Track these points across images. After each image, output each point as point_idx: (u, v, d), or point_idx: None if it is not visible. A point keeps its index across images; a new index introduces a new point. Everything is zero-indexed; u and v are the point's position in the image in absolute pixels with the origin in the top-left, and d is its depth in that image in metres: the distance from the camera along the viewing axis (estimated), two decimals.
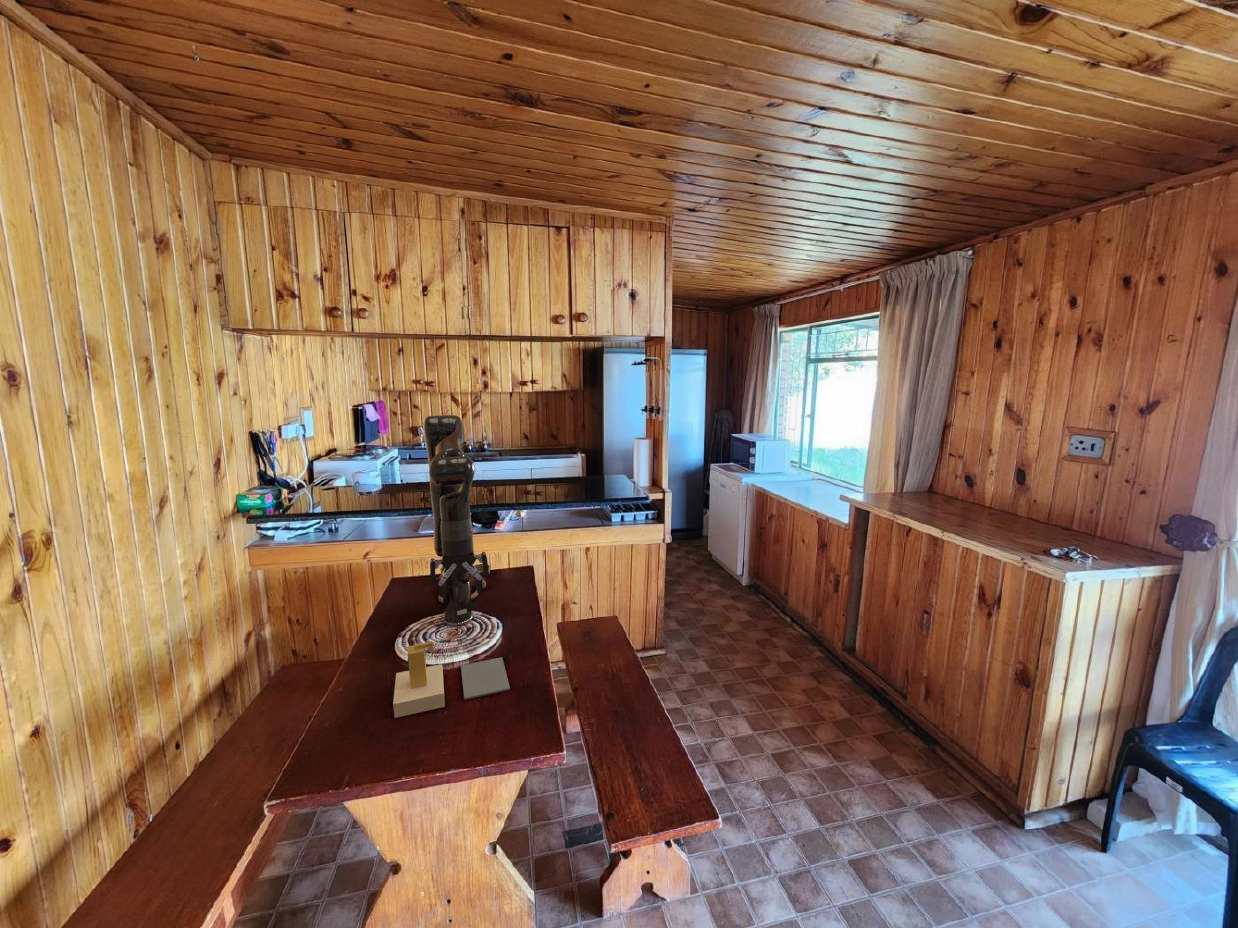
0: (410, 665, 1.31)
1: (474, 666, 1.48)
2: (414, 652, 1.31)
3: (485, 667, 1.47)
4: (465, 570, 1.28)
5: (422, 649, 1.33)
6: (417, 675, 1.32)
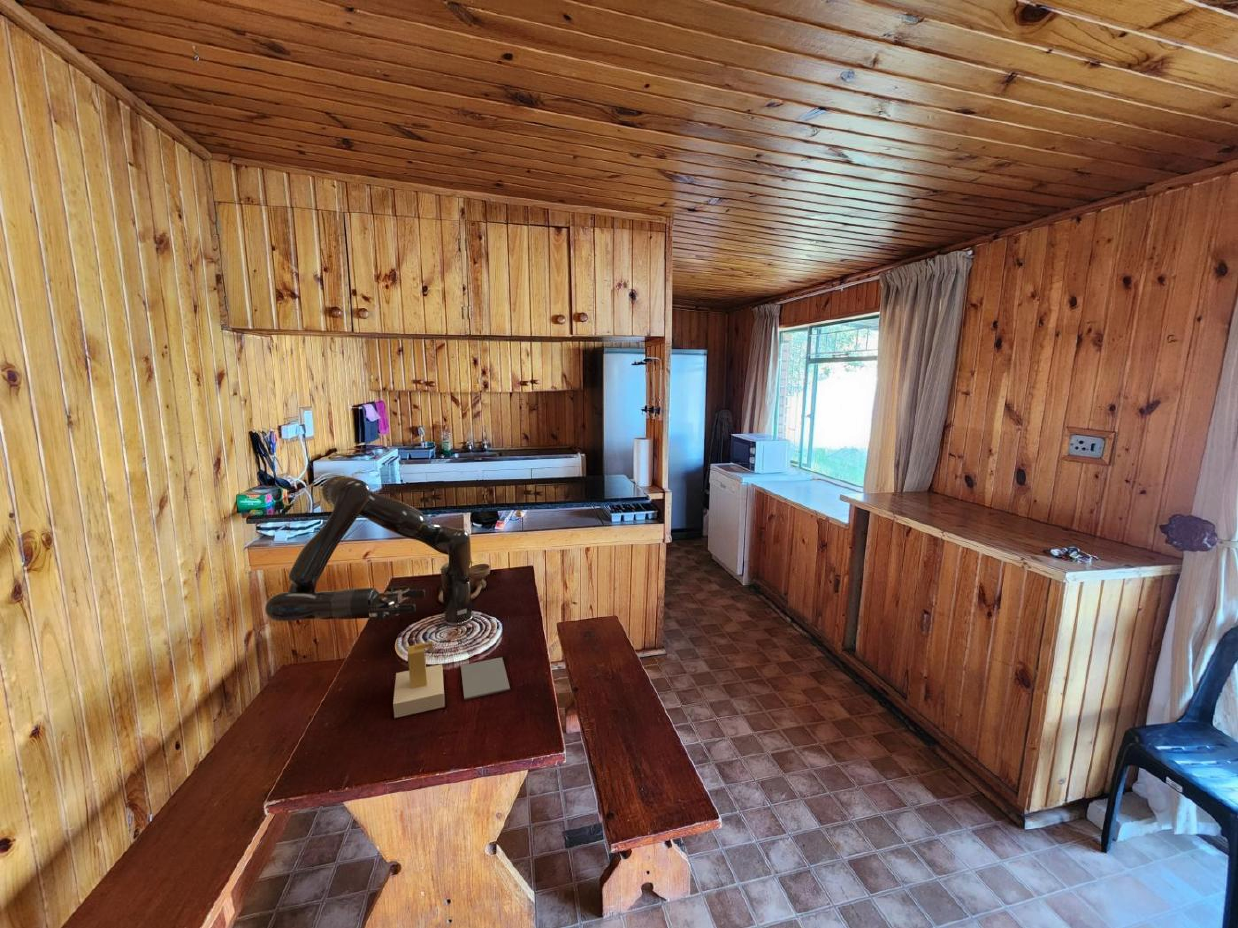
0: (410, 665, 1.31)
1: (474, 666, 1.48)
2: (414, 652, 1.31)
3: (485, 667, 1.47)
4: None
5: (422, 649, 1.33)
6: (417, 675, 1.32)
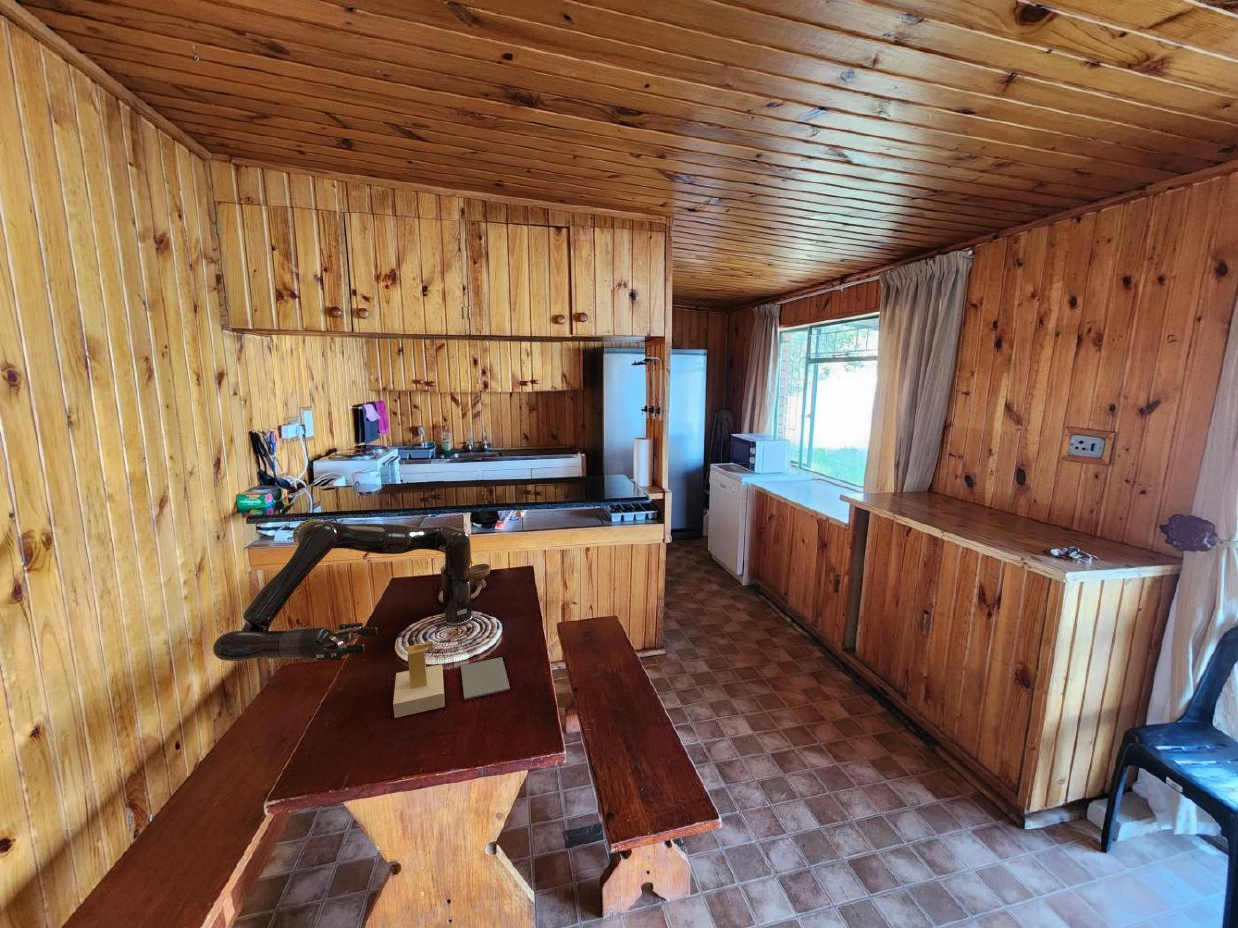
0: (410, 665, 1.31)
1: (474, 666, 1.48)
2: (414, 652, 1.31)
3: (485, 667, 1.47)
4: None
5: (422, 649, 1.33)
6: (417, 675, 1.32)
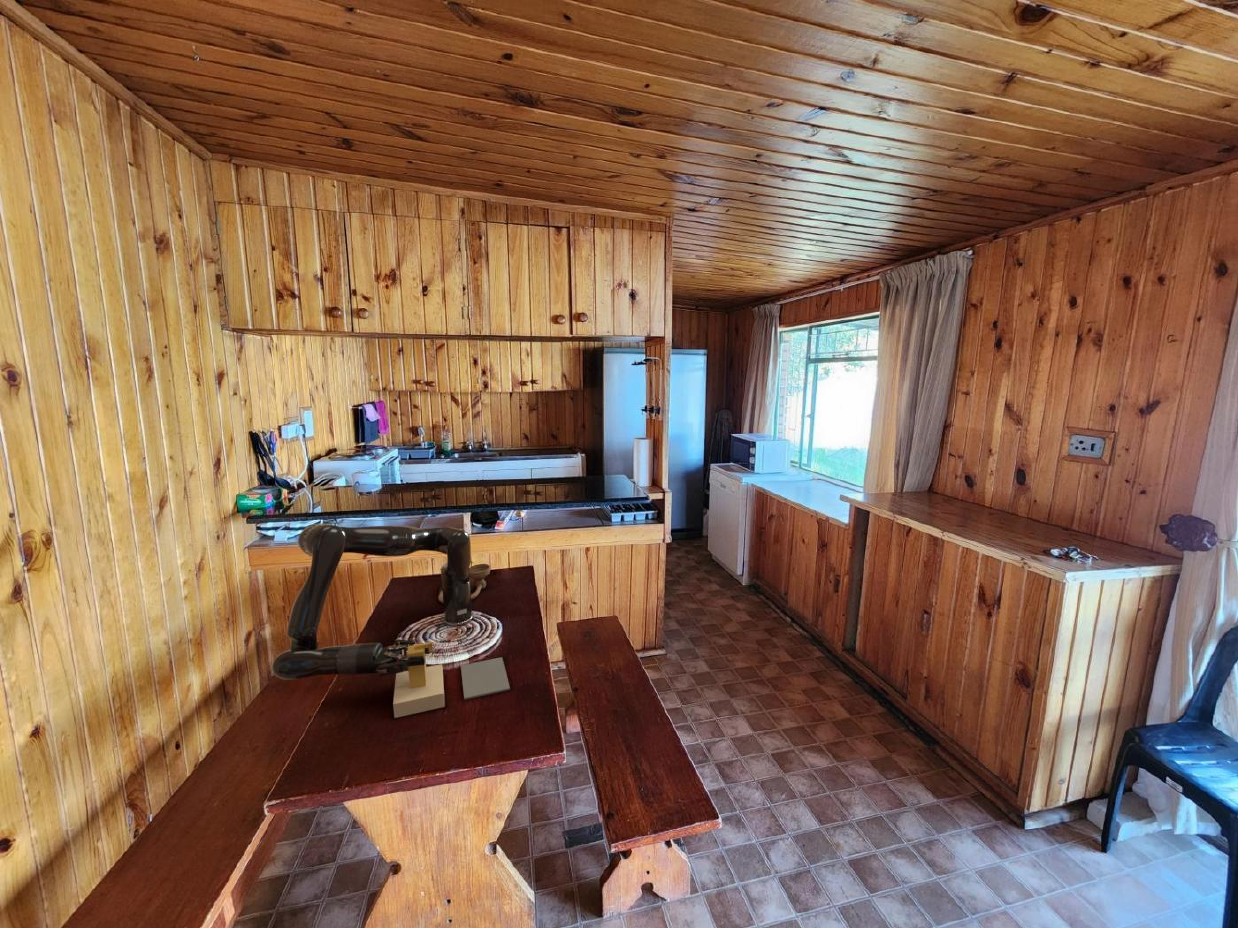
0: None
1: (474, 666, 1.48)
2: (413, 652, 1.31)
3: (485, 667, 1.47)
4: None
5: (421, 649, 1.32)
6: (416, 675, 1.32)
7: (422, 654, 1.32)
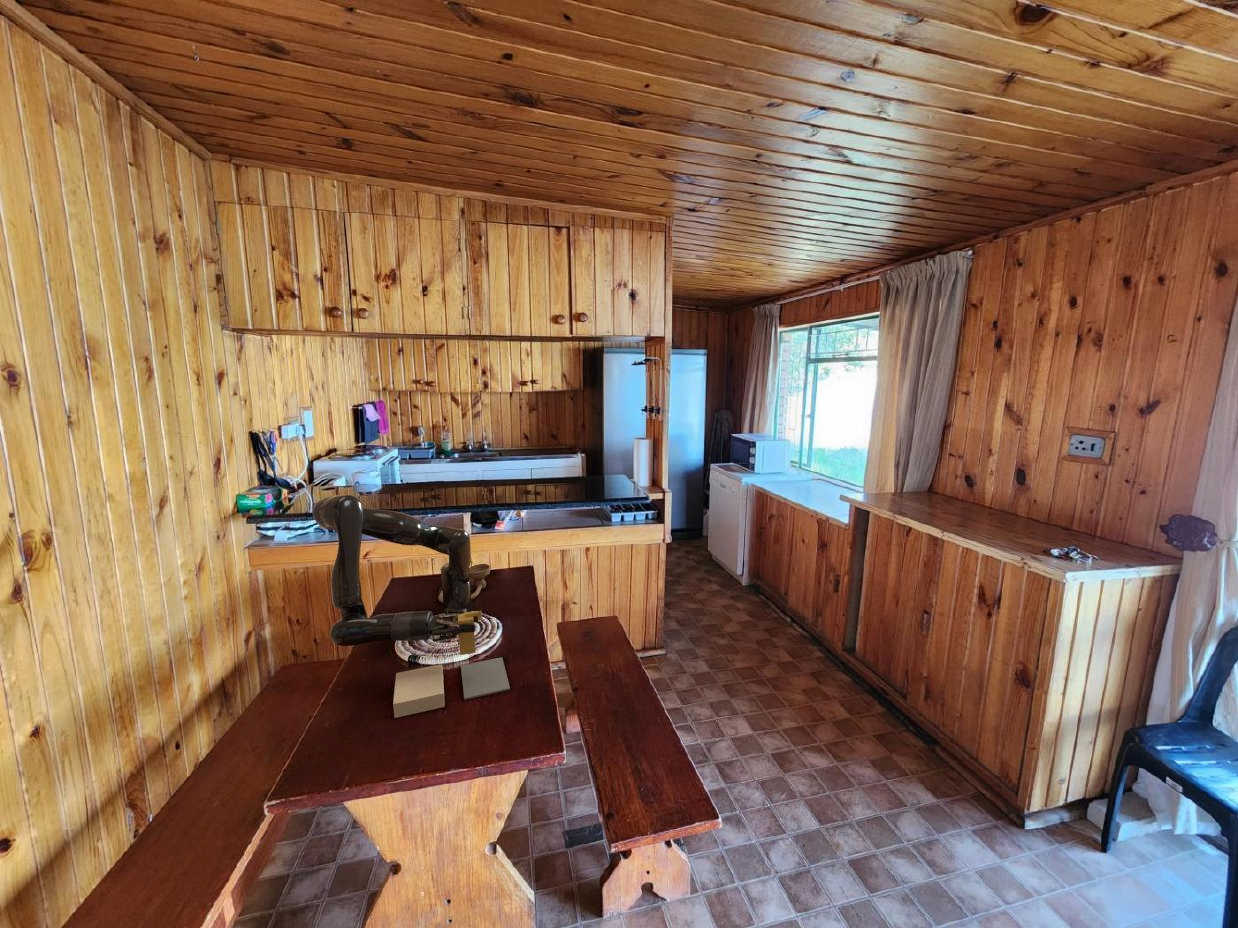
0: None
1: (474, 666, 1.48)
2: (464, 620, 1.36)
3: (485, 667, 1.47)
4: None
5: (471, 617, 1.37)
6: (466, 642, 1.37)
7: (472, 622, 1.37)
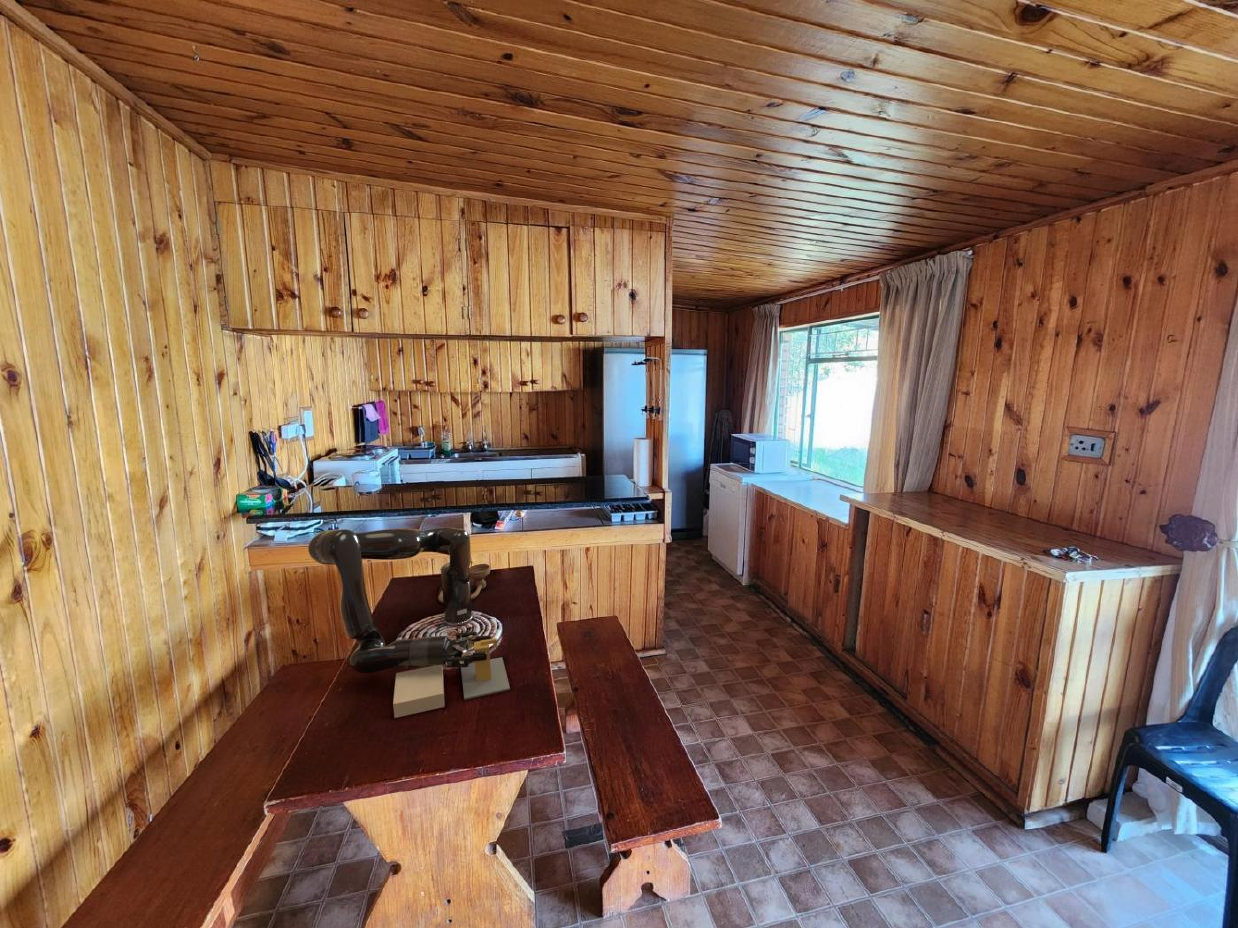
0: None
1: (474, 666, 1.48)
2: (480, 648, 1.39)
3: None
4: None
5: (487, 645, 1.41)
6: (482, 669, 1.40)
7: (488, 649, 1.40)
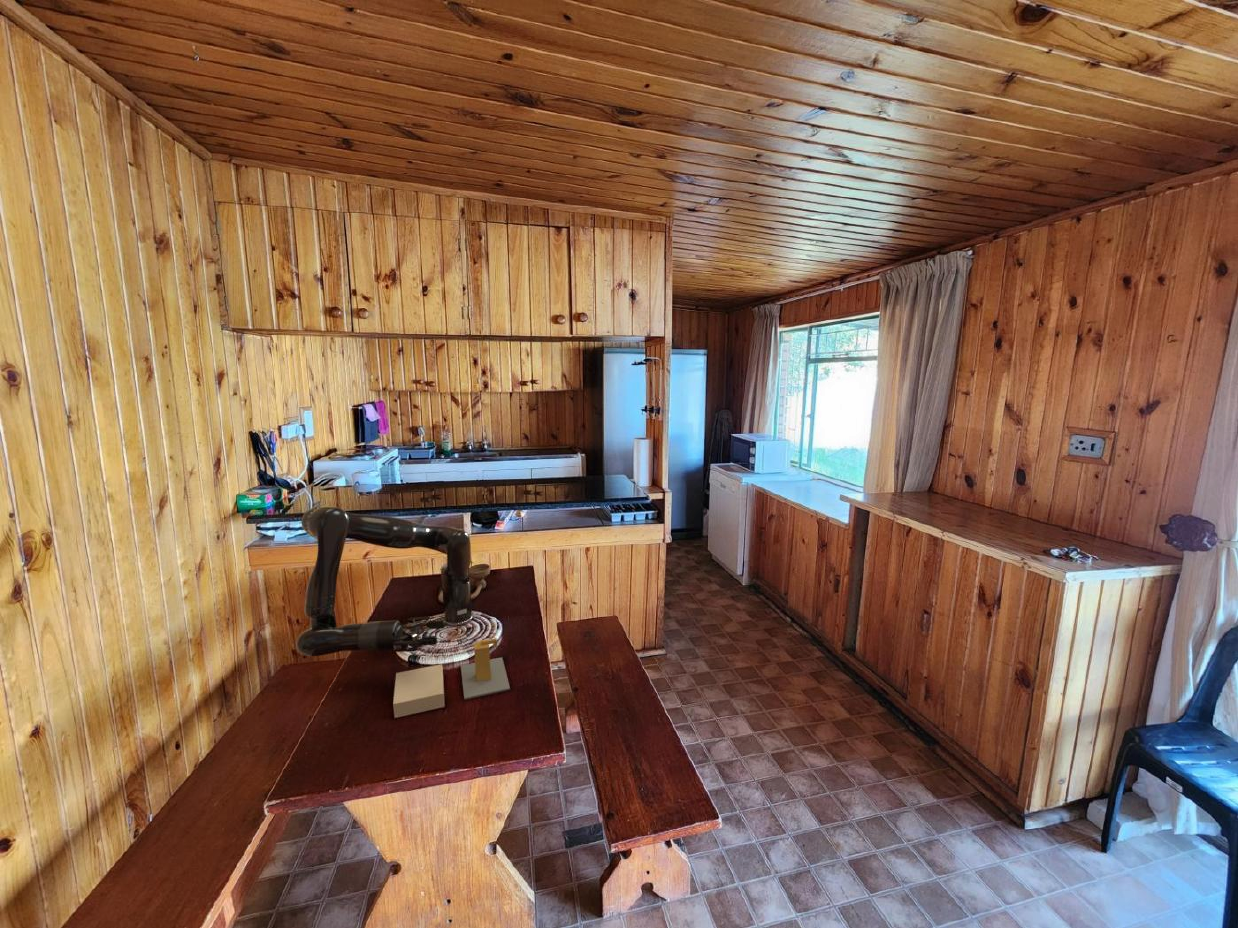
0: (476, 660, 1.39)
1: (474, 666, 1.48)
2: (480, 648, 1.39)
3: None
4: None
5: (487, 645, 1.41)
6: (482, 669, 1.40)
7: (488, 649, 1.40)
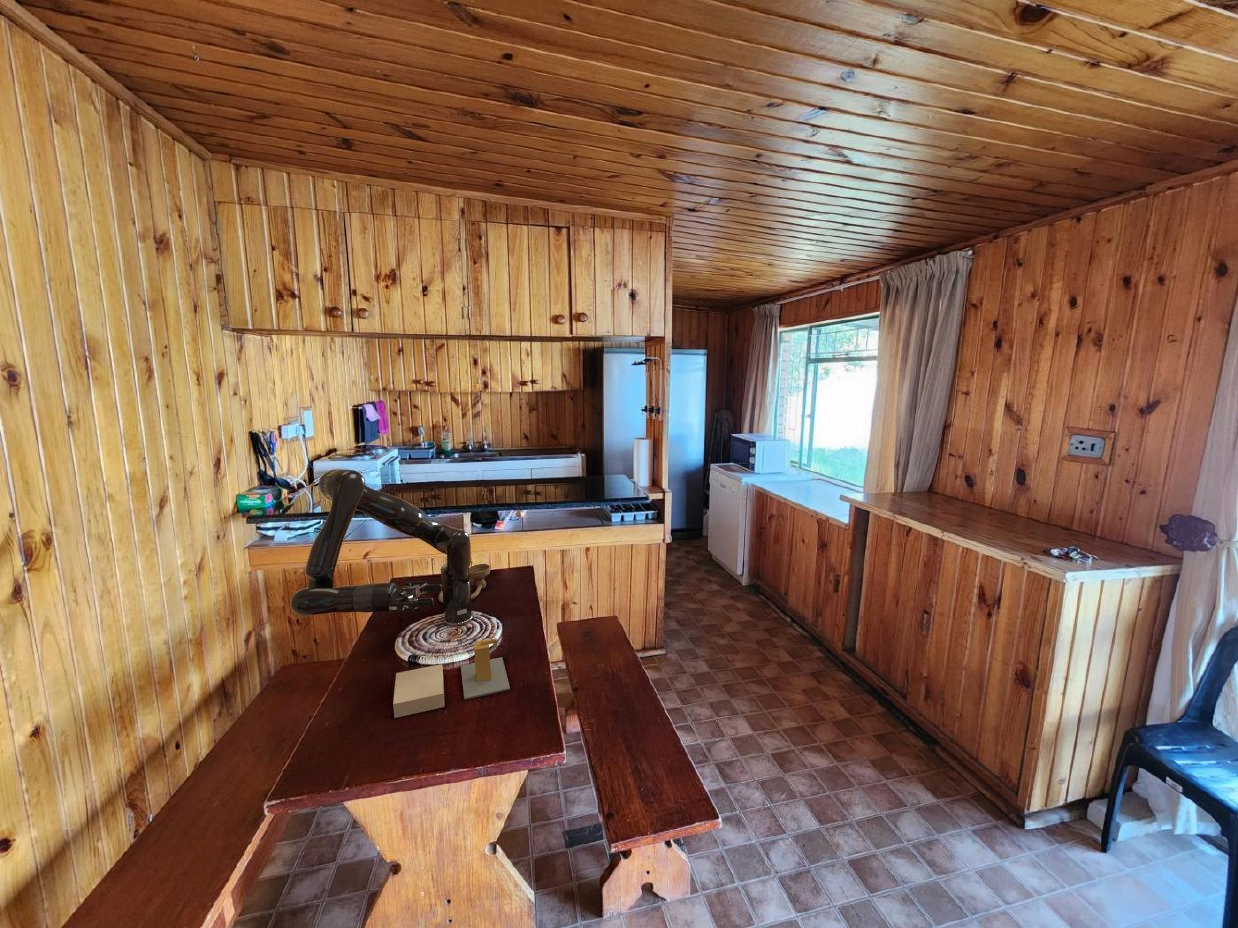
0: (476, 660, 1.39)
1: (474, 666, 1.48)
2: (480, 648, 1.39)
3: None
4: None
5: (487, 645, 1.41)
6: (482, 669, 1.40)
7: (488, 649, 1.40)
